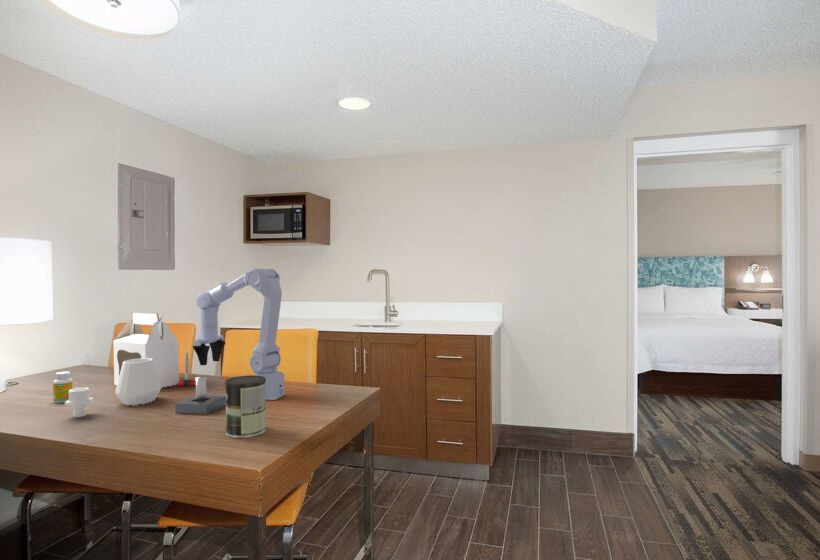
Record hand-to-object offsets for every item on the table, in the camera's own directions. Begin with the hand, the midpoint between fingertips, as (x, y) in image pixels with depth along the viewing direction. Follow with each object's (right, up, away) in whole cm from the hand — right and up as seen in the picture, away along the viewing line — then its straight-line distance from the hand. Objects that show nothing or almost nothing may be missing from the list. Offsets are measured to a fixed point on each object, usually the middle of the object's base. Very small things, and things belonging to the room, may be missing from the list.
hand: (209, 363), depth 173 cm
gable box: (-30, -11, +13) cm, 35 cm away
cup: (-19, -11, -12) cm, 25 cm away
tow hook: (-13, -11, +14) cm, 22 cm away
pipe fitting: (-28, -11, -28) cm, 41 cm away
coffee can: (+29, -11, -45) cm, 55 cm away
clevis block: (+7, -11, -23) cm, 26 cm away
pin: (+7, -11, -23) cm, 26 cm away
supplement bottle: (-46, -11, -10) cm, 48 cm away
